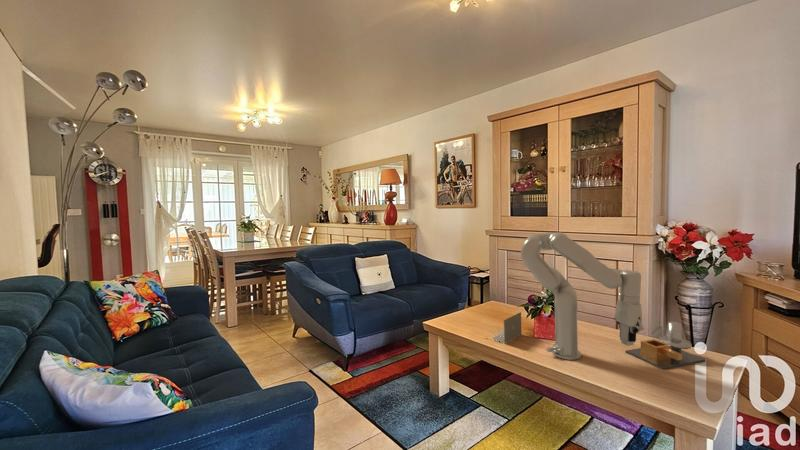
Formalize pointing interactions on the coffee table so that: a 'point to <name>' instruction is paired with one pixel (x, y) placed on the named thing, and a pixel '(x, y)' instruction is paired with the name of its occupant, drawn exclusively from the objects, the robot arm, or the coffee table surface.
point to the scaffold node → (666, 350)
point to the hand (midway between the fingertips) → (627, 338)
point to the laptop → (509, 329)
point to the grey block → (625, 335)
